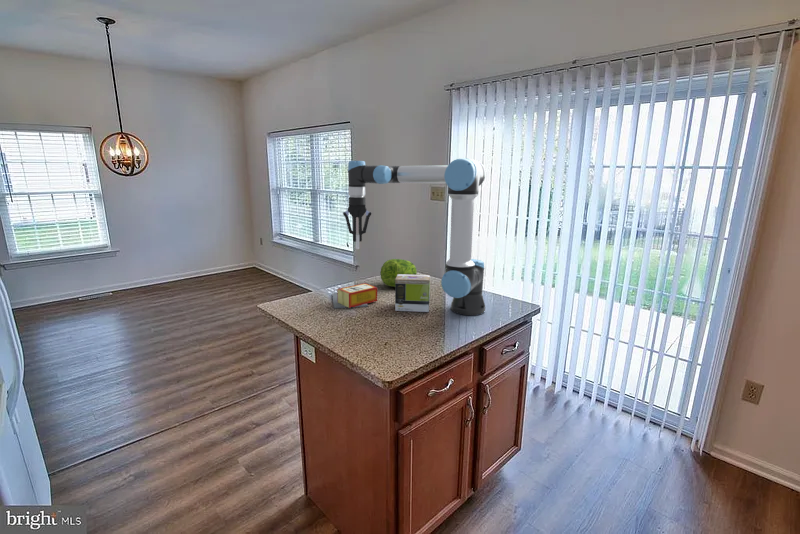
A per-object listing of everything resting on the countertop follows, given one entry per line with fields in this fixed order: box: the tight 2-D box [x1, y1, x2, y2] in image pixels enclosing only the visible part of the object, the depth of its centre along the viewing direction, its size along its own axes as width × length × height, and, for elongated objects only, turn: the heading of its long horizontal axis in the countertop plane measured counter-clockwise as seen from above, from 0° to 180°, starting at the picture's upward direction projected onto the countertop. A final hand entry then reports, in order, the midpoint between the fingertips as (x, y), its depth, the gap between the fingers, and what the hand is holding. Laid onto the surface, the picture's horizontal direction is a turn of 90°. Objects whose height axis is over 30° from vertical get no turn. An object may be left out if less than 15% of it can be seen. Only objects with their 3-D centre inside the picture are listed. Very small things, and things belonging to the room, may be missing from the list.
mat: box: [331, 292, 369, 309], centre depth 185 cm, size 20×15×1 cm
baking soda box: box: [336, 282, 378, 309], centre depth 180 cm, size 10×6×16 cm
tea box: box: [394, 274, 431, 313], centre depth 175 cm, size 15×10×15 cm, turn 84°
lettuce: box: [380, 258, 418, 288], centre depth 209 cm, size 16×21×15 cm
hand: (357, 248), depth 180 cm, fingers closed
